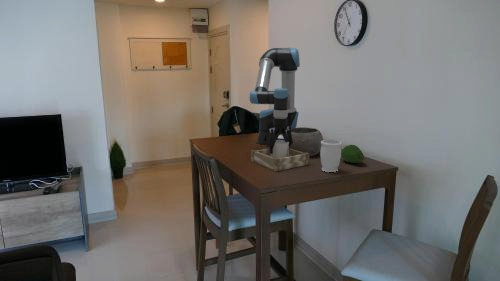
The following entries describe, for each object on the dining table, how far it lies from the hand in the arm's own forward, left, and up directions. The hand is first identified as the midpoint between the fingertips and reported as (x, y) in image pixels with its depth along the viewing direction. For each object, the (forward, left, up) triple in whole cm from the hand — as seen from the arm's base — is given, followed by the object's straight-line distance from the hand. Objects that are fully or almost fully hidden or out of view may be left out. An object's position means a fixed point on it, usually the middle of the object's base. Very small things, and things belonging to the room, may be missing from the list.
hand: (279, 157), depth 190 cm
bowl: (-26, -9, -3) cm, 28 cm away
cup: (0, 0, -2) cm, 2 cm away
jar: (-13, +25, -3) cm, 28 cm away
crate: (0, 0, -3) cm, 3 cm away
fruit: (-34, +22, -3) cm, 41 cm away
